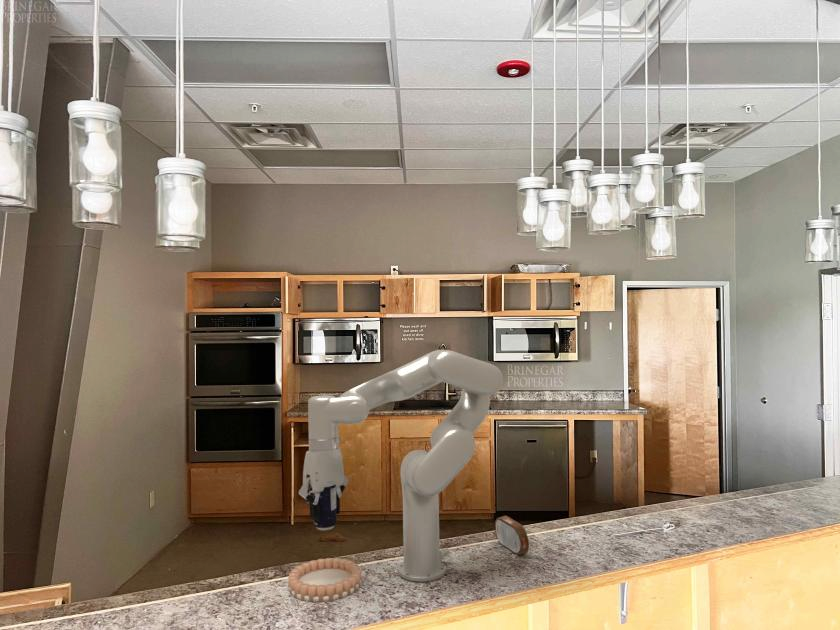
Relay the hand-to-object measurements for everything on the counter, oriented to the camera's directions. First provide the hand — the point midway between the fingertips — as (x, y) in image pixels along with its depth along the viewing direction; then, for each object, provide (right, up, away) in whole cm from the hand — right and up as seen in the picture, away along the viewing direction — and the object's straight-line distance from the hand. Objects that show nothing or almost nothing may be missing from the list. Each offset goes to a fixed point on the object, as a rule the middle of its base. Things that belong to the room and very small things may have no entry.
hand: (325, 515), depth 137 cm
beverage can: (0, -3, 0) cm, 3 cm away
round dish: (0, -17, -1) cm, 17 cm away
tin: (+51, -18, +20) cm, 57 cm away
